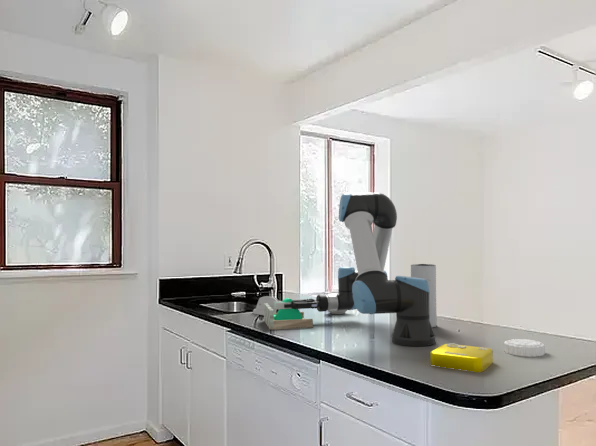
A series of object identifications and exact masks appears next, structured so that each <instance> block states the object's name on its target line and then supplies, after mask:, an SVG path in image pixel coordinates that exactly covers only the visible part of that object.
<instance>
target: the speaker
mask: <svg viewBox="0 0 596 446" xmlns="http://www.w3.org/2000/svg"><path fill="white" fill-rule="evenodd" d="M410 277H414V278H421V279H425V280H427V281H428V284H429V292H430V293H429V307H430V323H431V326H432V328H436V327H437V326H438V325H437V324H438V323H437V322H438V320H437V319H438V318H437V266H436V264H433V263H432V264H431V263H430V264H429V263H428V264H426V263H417V264H416V263H415V264H410Z"/></svg>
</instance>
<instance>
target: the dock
mask: <svg viewBox="0 0 596 446" xmlns="http://www.w3.org/2000/svg"><path fill="white" fill-rule="evenodd" d="M300 313H301V314H302V319H296V320H274V315H276V314H277V313H273V309H272V308H271V307H270V306H269V305H268V304H267V303H265V304H264V315H263V316H264V317H263V318H264V320H263V321H264V323H265V324H266V326H267V327H268V329H269V330H270V331H271V330H291V329H292V330H294V329H311V328H313V329H314V327H313V326H314V324H313V323H314V319H313V318H305V313H304V311H300Z"/></svg>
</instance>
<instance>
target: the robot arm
mask: <svg viewBox="0 0 596 446" xmlns="http://www.w3.org/2000/svg"><path fill="white" fill-rule="evenodd" d="M397 213H398V212H397V209H396V206H395V204H394V203H393V201H392V200H391V199H390V197H388V196H387V195H386V194H384V193H381V192H345V193H342V194H341V196H340V199H339V206H338V220H339V222H342V223H344V226H345V228H347V230H349V234H350V238H351V239H350V240H351V245H352V249H353V255H354V259H355V265H356V268H355V267H354V266H340V267H339V268H338V271H337V281H338V282H337V286H338V291H337V292H338V293H327V294H318V295H316V298H315V299H314V298H306V299H305V298H304V299H292V300H293V301H292V304H291V302H289V301H288V302H284V303H282V302H283V300H279V301H276V302H274V308H276V309H291V308H292V309H298V310H302V309H303V310H304V309H314V310H315V309H316V310H317V311H318V312H320V313H321V312H329V311H332V312H334V311H340V310H347V311H351V310H357V311H358V313H361V314H365V315H367V314H368V315H376V314H377V315H379V314H396V321H395V323H394V324H395V325H394V327H393V331H392V333H391V342H392V343H393V344H396V345H400V346H406V347H407V346H408V347H427V346H433V345H434V344H436V335H435V331H434V329H433V328H434V327H433V328H432V326H431V323H430V307H429V293H430V292H429V284H428V281H427V280H425V279H421V278H414V277H411V276H405V275H396V276H395V278H394V279H388V273H387V271H386V270H385V268H386V267H385V266H386V261H387V257H388V252H389V247H390V242H391V237H392V233H393V228H395V227H396V225H397V219H398V214H397ZM372 225H374V227H373V228H372ZM356 269H357V270H356Z"/></svg>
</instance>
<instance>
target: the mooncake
mask: <svg viewBox="0 0 596 446" xmlns="http://www.w3.org/2000/svg"><path fill="white" fill-rule="evenodd" d="M503 345H504V346H503V348H504V352H505V353H506V354H509V355H513V356H519V357H528V358H529V357H541V356H542V357H543V356H544V355H546V345H545V344H544V342H543V343H542V342H541V341H538V340H533V339H528V338H513V339H512V338H511V339H509V340H505V341H504V342H503Z"/></svg>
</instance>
